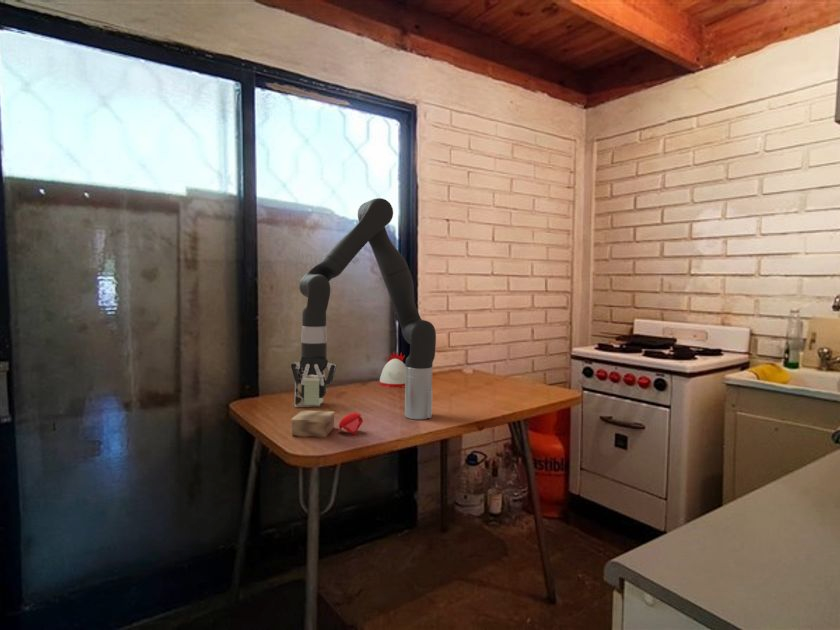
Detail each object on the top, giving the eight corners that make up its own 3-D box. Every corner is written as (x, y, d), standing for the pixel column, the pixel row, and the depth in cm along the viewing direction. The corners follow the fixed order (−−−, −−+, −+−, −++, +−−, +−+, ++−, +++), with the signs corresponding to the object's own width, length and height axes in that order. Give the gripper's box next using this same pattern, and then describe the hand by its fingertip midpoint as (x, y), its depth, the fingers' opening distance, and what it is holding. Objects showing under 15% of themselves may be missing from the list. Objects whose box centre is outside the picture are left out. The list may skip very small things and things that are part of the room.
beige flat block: (335, 427, 155) (335, 411, 155) (326, 437, 145) (326, 420, 144) (302, 425, 156) (302, 410, 156) (290, 436, 145) (290, 419, 145)
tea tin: (323, 401, 152) (323, 375, 152) (319, 405, 147) (319, 378, 147) (308, 400, 152) (308, 374, 152) (303, 404, 148) (303, 377, 147)
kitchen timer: (410, 388, 217) (410, 354, 216) (378, 387, 217) (379, 353, 216) (410, 381, 231) (410, 349, 230) (380, 381, 231) (381, 349, 230)
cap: (365, 418, 154) (349, 408, 154) (366, 417, 148) (349, 406, 148) (351, 441, 151) (334, 430, 152) (351, 440, 146) (334, 429, 146)
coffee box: (294, 407, 179) (295, 363, 178) (294, 403, 185) (294, 360, 184) (320, 406, 181) (320, 362, 180) (319, 402, 187) (319, 360, 186)
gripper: (340, 340, 152) (339, 395, 153) (295, 339, 153) (294, 393, 154) (334, 343, 144) (333, 400, 145) (286, 341, 146) (286, 399, 147)
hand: (313, 396), depth 150 cm, fingers closed on tea tin, 4 cm apart
